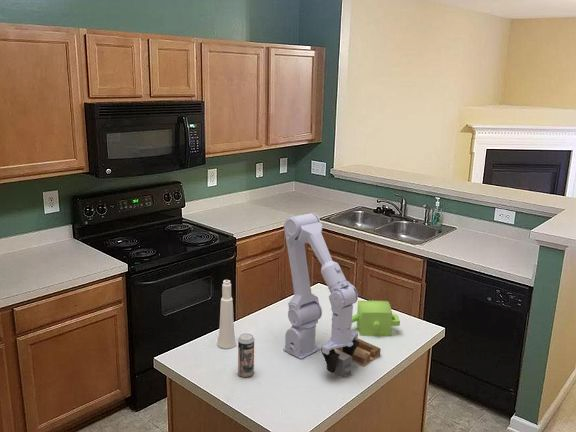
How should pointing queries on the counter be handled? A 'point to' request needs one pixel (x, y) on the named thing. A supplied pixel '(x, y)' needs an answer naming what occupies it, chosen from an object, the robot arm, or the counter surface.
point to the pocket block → (364, 353)
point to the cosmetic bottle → (226, 318)
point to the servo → (343, 364)
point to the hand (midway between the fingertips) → (339, 366)
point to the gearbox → (375, 318)
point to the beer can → (246, 355)
